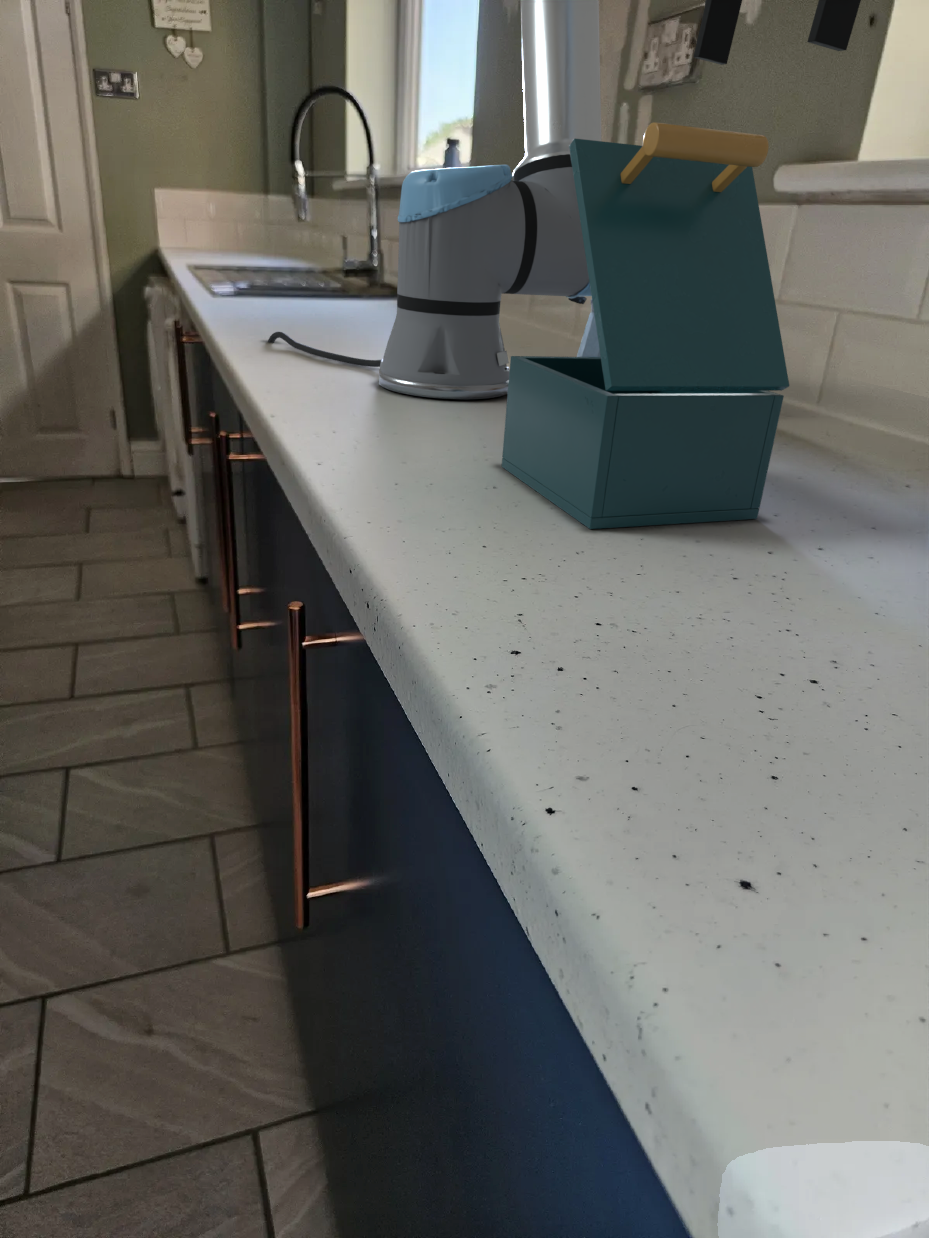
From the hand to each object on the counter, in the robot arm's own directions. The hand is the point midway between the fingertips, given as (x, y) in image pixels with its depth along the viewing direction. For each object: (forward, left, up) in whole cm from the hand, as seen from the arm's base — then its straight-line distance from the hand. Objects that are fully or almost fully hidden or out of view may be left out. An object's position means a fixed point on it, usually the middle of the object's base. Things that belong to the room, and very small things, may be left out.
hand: (763, 55), depth 64 cm
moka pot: (-36, +29, -31) cm, 56 cm away
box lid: (+6, -14, -14) cm, 21 cm away
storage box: (+3, -13, -30) cm, 33 cm away
